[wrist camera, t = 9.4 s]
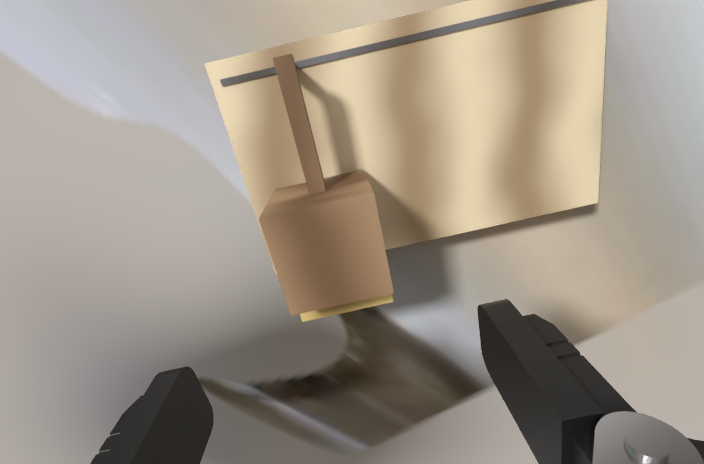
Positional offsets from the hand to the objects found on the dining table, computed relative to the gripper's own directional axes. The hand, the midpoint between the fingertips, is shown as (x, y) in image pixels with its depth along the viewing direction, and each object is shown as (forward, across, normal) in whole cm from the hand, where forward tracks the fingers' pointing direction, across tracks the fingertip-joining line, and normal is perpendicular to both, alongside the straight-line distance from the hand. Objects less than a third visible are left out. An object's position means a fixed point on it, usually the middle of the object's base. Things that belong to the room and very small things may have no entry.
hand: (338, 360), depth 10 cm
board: (+14, -6, -3) cm, 15 cm away
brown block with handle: (+13, 0, -2) cm, 13 cm away
